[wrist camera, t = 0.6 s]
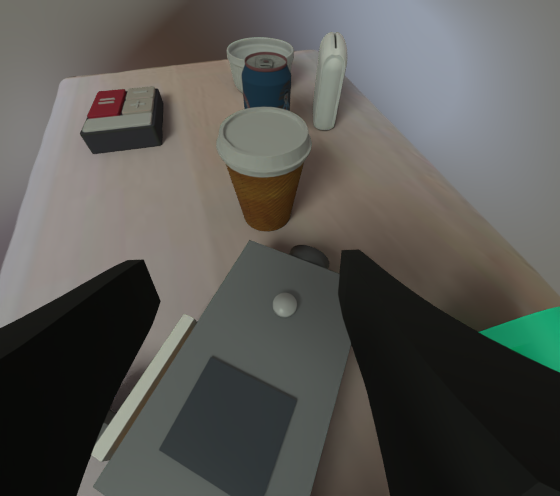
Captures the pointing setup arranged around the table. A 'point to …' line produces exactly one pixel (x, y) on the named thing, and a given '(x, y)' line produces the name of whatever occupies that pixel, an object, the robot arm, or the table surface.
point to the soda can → (266, 81)
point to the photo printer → (329, 80)
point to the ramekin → (253, 45)
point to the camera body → (244, 388)
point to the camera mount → (532, 336)
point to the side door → (140, 392)
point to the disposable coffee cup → (264, 162)
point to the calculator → (124, 120)
